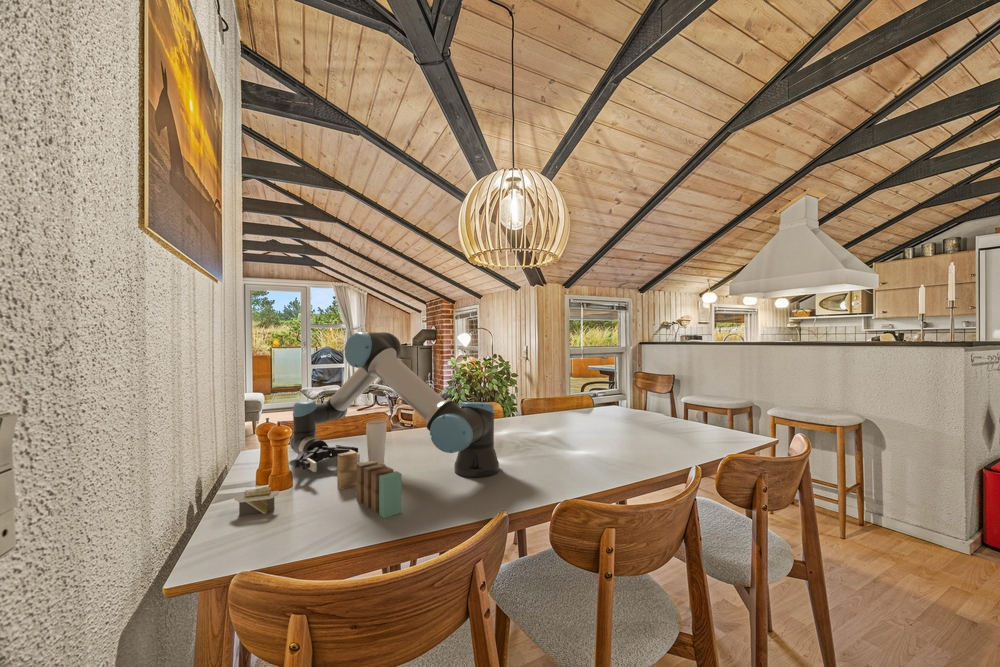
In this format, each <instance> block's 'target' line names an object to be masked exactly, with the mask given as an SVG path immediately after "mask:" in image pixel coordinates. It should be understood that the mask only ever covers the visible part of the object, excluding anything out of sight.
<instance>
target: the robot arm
mask: <svg viewBox="0 0 1000 667" xmlns="http://www.w3.org/2000/svg"><path fill="white" fill-rule="evenodd" d="M401 354H402V344H401V342H400V340H399V339H398V337H397V336H395V335H394V334H393V333H390V332H386V331H385V332H384V331H383V332H376V331H375V332H373V331H372V332H371V331H359V332H354V333H352V334H351V335H350V336H348V338H347V340H346V342H345V345H344V357H345V360H346V362H347V363H348V365H349V366H350V367H353V368H355V369H356V368H357V370H355V371H354V372H353V373H352V375H351V376H350V377H349V378H348V379H347V380H346V381H345V382H344V383H343V385H341V386H340V388H338V390H336V391H335V393H334V394H333V395H332V396H331V397H330V398H329V399H327V401H326V402H321V403H318V404H316V401H314V400H301V401H296V402H295V403H294V404H293V410H292V418H293V421H292V422H293V432H292V436H291V438H290V440H289V446H290V448H291V450H293V451H294V453H296V454H297V456H296V458H295V460H294V468H295V469H299V468H300V467H301V470H302V471H303V470H304V471H305V470H306V469H308V470H310V471H311V472H313V473H315V472H316V473H317V463H319V462H321V461H322V460H324V459H334V458H335V457H337V454H341V453H346V452H351V451H355V452H357V463H361V462H360V461H361V460H360V459H361V458H360V453H359V447H355V446H345V445H340V444H336V445H335V446H329V445H328V444H327V443H326V441H324V440H322V439H321V438H318V437H317V436H316V435H317V434H316V433H317V432H316V429H317V425H320V424H324V423H328V422H332V421H338V420H340V419H342V418H344V417H345V416H346V415H347V413H348V408H349V407H350V406H351V405H352V404H353V403H354V402H355V401H356V400H357V399H358V398H359V397H360V396H361V395H362V394H363V393H364V392H365V391H366V390H367V389H368V388H369V387H370V386H371V385H372V384H373V383H374V382H375V381H376V380H377V379H378V378H380V379H381V381H383V382H384V383H385V384H386V385H387V386H388V387H389V388H390V389H391V390H393V392H394V393H395V394H396V395H397V396H399V397H400V398H401V399H402V400H403V401H404V402H405V403H406V404H407V405H409V407H411V408H412V409H413V410H414V411H415V412H416V413H417V414H418V415H419V416H421V418H423V420H425V421H426V425H425V426H426V429H427V430H428V431H429V435H430V436H431V437H430V439H431V442H432V444H433V445H434V446H435V447H436V448H437V449H438V450H440V451H441V452H443V453H448V454H455V453H457V456H456V460H455V461H454V473H455V474H456V475H458V476H461V477H466V478H483V477H484V478H485V477H489V476H493V475H495V474H497V473H498V472H500V463H499V460H498V456H497V452H496V449H495V446H494V445H495V412H494V411H495V408H494V407H495V406H494V404H492V403H490V402H479V401H477V402H476V401H461V402H460V403H459V405H458V404H457V403H456V402H455V401H453V399H447V400H445V399H444V398H443V397H442V396H441V395H440V394H438V393H437V392H436V391H435V390H434V389H433V388H432V387H431V386H429V385H428V384H427V383H426V382H425V381H424V380H423V379H422V378H420V376H418V375H417V374H416V373H415V372H414V371H412V370H411V369H410V368H409V367H408V366H407V365H406V364H405V363H404V362H403V361H402V360H400V357H401Z"/></svg>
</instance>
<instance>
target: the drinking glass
mask: <svg viewBox="0 0 1000 667" xmlns="http://www.w3.org/2000/svg"><path fill="white" fill-rule="evenodd" d="M365 427H366V429H365V433H366V434H365V435H366V436H365V437H366V446H367V459H368V461H367V462H369V461H373V460H374V461H376V462H378V464H382V465H385V455H386V454H385V453H386V452H385V451H386V443H387V442H386V440H387V421H384V420H372V421H369V422H367V423H366V426H365Z"/></svg>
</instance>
